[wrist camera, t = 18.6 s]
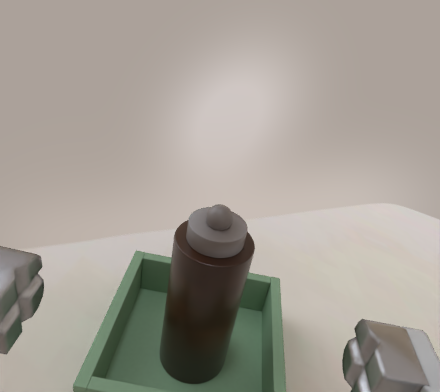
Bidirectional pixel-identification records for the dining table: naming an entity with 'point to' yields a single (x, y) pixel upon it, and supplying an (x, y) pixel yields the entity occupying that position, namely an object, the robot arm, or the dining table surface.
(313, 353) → the dining table surface
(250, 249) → the pepper mill
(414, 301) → the dining table surface
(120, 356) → the tray
